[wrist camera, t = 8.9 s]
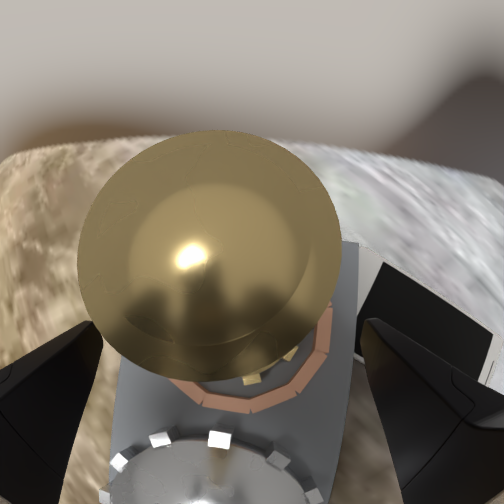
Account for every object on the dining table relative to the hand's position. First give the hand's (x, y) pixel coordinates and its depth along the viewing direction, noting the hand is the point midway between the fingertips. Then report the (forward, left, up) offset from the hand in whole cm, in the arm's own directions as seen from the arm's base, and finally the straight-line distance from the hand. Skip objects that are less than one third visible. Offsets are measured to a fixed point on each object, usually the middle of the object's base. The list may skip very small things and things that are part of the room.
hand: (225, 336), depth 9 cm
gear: (-11, 0, -8) cm, 14 cm away
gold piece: (+1, 0, -8) cm, 8 cm away
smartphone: (+2, -13, -10) cm, 16 cm away
